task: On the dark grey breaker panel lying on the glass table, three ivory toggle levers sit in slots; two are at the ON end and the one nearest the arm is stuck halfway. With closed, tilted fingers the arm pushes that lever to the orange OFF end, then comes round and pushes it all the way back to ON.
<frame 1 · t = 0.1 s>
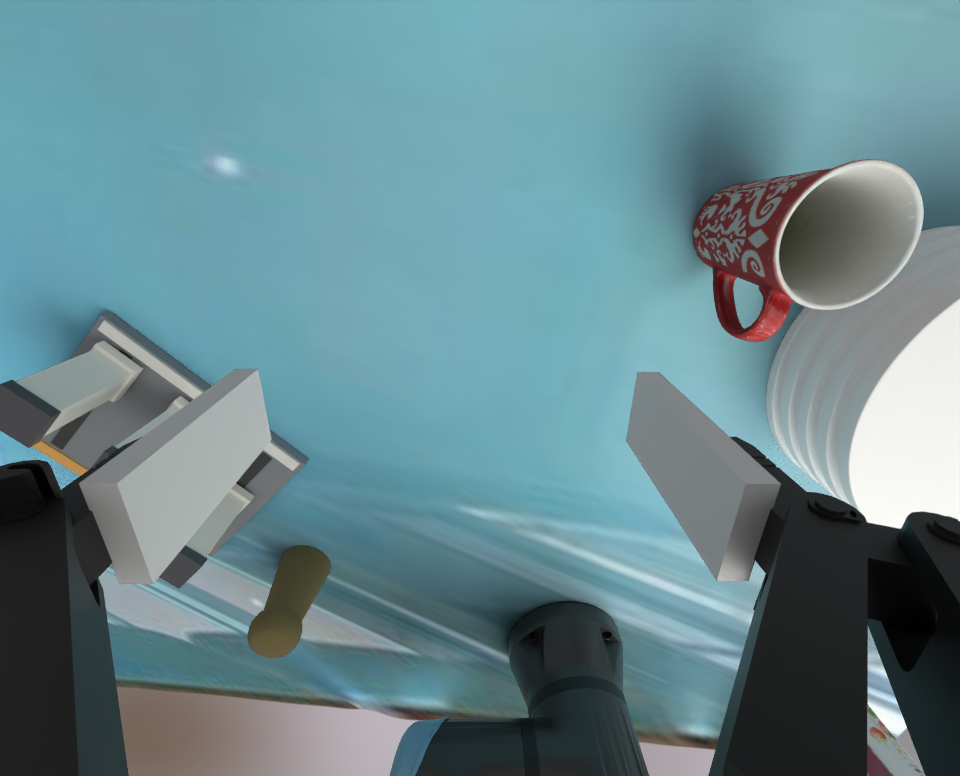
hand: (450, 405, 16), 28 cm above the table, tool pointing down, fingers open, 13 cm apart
tripped lever: (202, 528, 44), point 7 cm above the table, slide at 5.0 cm
lever mid: (154, 448, 40), point 7 cm above the table, slide at 10.0 cm
plate stack: (901, 368, 46), on the table
mug: (719, 245, 41), on the table
liquor: (825, 684, 66), on the table
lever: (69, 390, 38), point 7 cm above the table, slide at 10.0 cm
panel: (170, 444, 48), on the table
cork: (306, 563, 55), on the table
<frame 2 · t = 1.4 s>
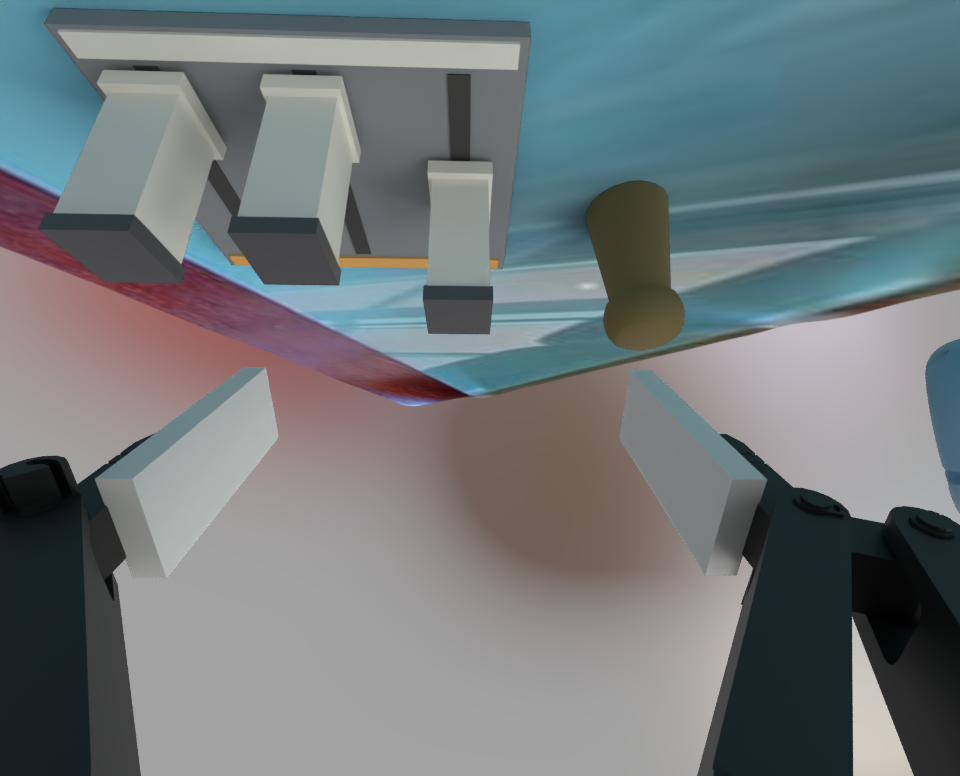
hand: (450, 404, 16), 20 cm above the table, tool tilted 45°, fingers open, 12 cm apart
tripped lever: (459, 249, 28), point 7 cm above the table, slide at 5.0 cm
lever mid: (303, 182, 23), point 7 cm above the table, slide at 10.0 cm
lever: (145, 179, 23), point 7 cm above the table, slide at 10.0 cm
panel: (342, 168, 30), on the table
cork: (625, 210, 34), on the table
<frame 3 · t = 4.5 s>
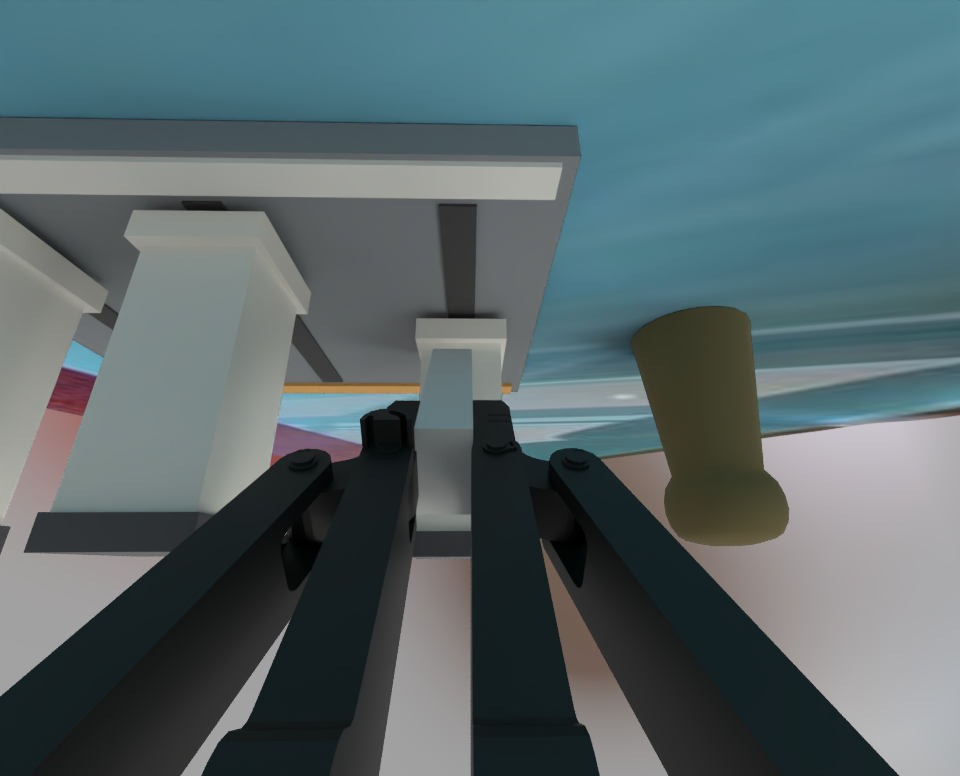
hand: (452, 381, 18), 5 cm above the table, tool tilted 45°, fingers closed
tripped lever: (461, 439, 20), point 7 cm above the table, slide at 3.7 cm, touching gripper
lever mid: (201, 385, 14), point 7 cm above the table, slide at 10.0 cm
panel: (292, 297, 21), on the table
cork: (687, 332, 25), on the table
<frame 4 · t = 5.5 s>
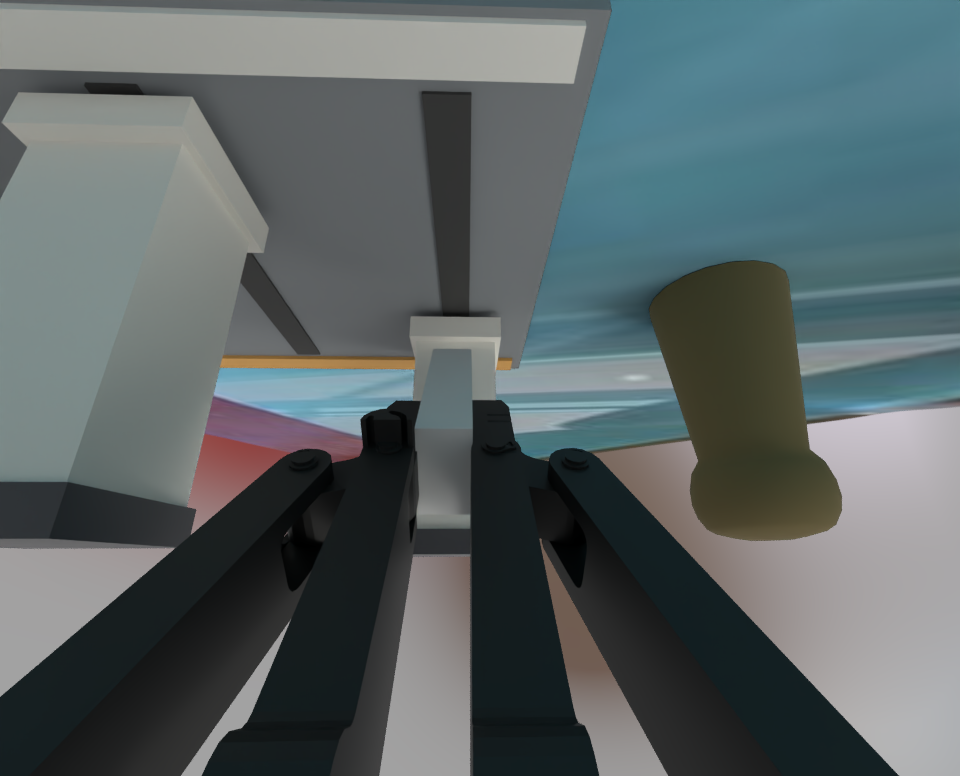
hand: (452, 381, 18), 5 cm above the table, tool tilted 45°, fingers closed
tripped lever: (454, 437, 20), point 7 cm above the table, slide at 0.2 cm, touching gripper
lever mid: (110, 325, 11), point 7 cm above the table, slide at 10.0 cm
panel: (254, 245, 18), on the table
cork: (713, 296, 22), on the table
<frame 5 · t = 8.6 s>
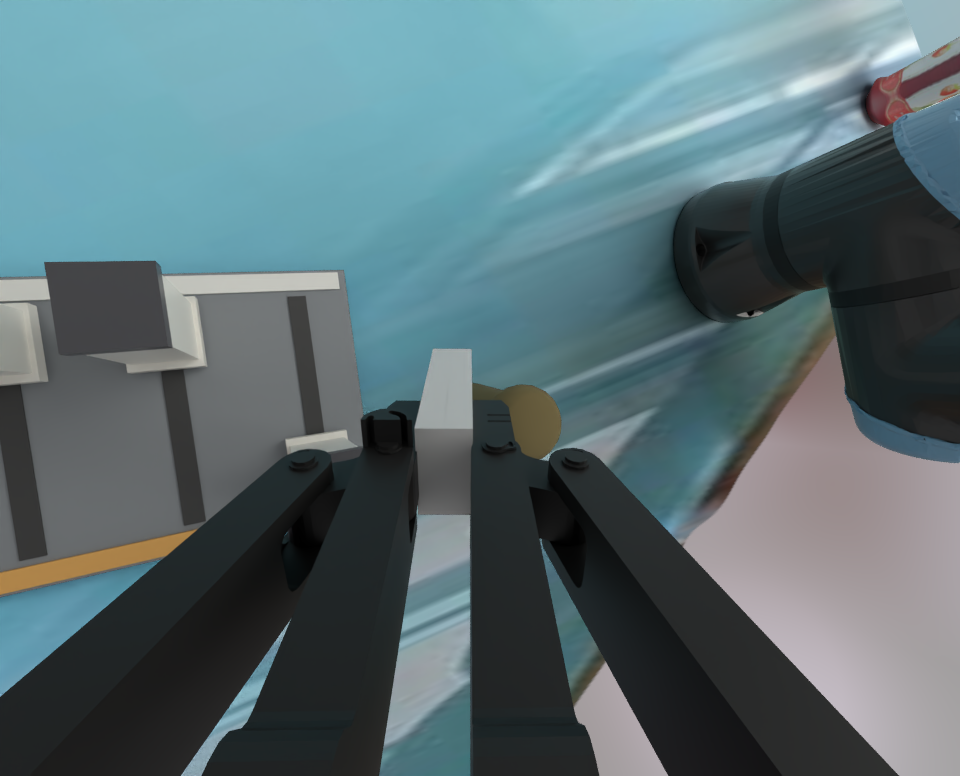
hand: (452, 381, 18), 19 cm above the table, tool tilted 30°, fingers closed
tripped lever: (325, 475, 27), point 7 cm above the table, slide at 0.1 cm
lever mid: (142, 323, 24), point 7 cm above the table, slide at 10.0 cm
liquor: (872, 108, 65), on the table
panel: (182, 413, 30), on the table
cork: (469, 417, 38), on the table
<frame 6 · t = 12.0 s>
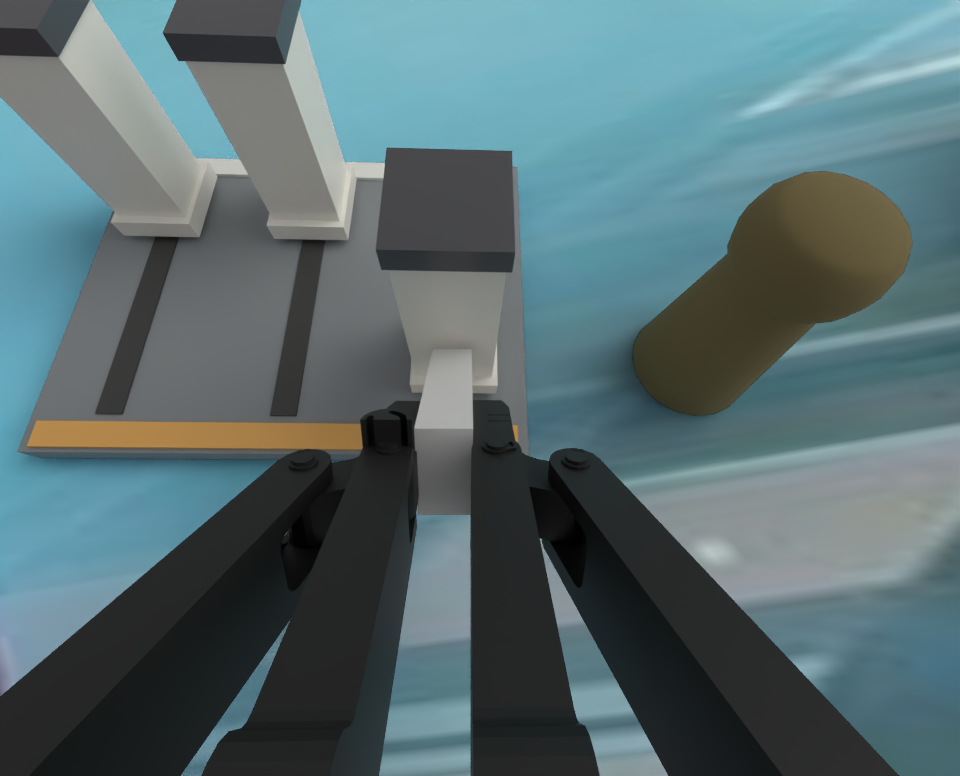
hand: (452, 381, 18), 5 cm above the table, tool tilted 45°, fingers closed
tripped lever: (452, 294, 17), point 7 cm above the table, slide at 1.1 cm, touching gripper
lever mid: (283, 127, 21), point 7 cm above the table, slide at 10.0 cm
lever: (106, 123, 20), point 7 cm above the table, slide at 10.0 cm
panel: (313, 299, 25), on the table
cork: (686, 364, 24), on the table
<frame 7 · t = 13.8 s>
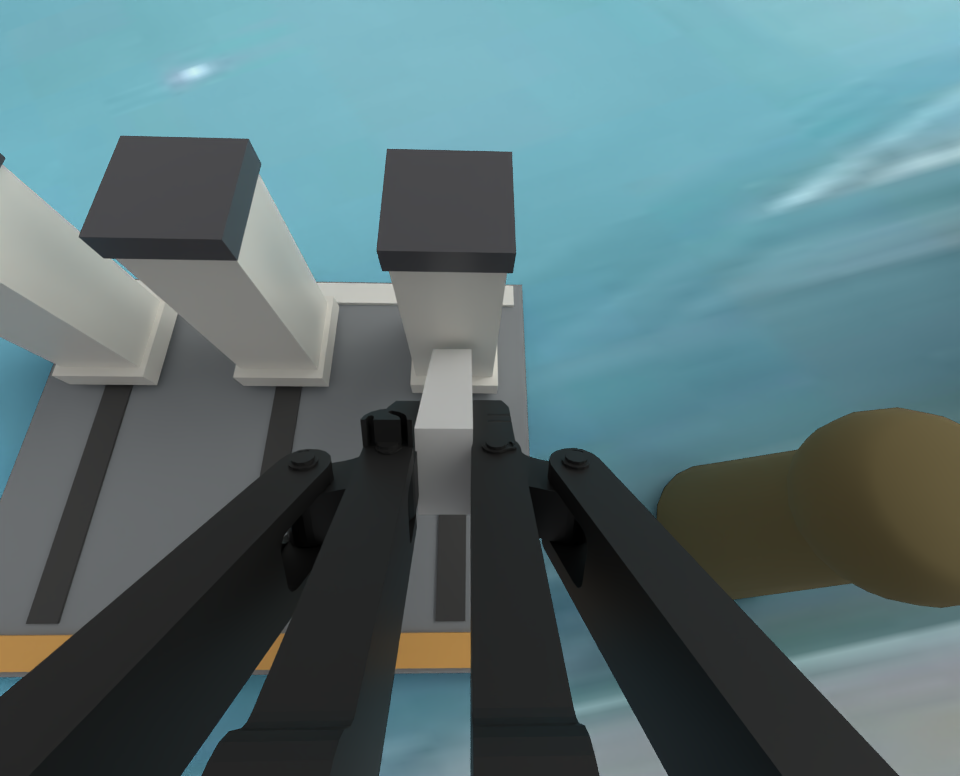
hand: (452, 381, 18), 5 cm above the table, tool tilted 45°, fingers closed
tripped lever: (452, 295, 17), point 7 cm above the table, slide at 9.7 cm, touching gripper
lever mid: (247, 286, 17), point 7 cm above the table, slide at 10.0 cm
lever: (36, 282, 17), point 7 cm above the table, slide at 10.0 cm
panel: (289, 452, 22), on the table
cork: (718, 528, 21), on the table
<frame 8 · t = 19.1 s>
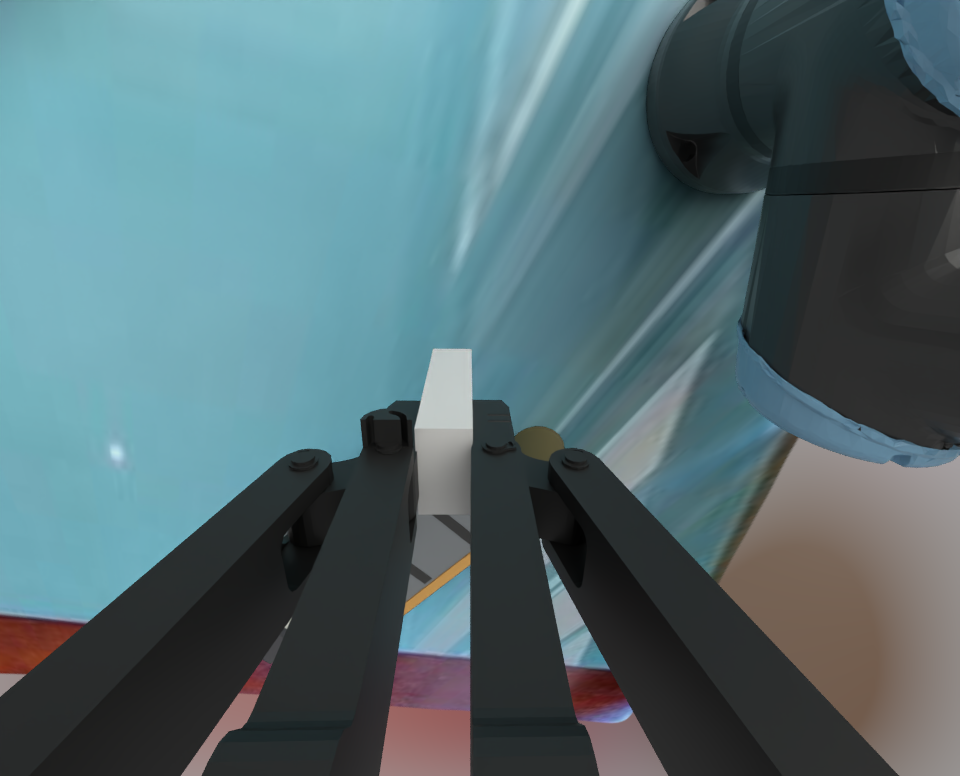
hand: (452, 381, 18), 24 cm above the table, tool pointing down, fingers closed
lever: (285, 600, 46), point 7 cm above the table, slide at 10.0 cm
panel: (384, 540, 52), on the table
cork: (536, 450, 48), on the table
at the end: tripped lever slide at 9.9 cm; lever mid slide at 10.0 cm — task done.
